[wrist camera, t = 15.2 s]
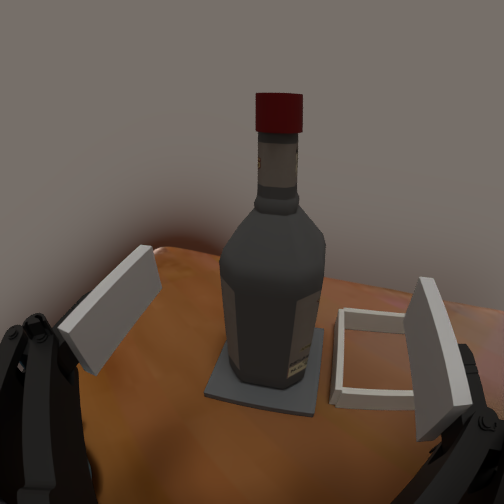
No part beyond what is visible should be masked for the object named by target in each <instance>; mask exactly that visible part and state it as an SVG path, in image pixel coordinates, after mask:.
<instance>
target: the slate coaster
mask: <svg viewBox="0 0 504 504" xmlns="http://www.w3.org/2000/svg"><path fill="white" fill-rule="evenodd" d="M323 335H324V329H322V328H314V333H313V338H312V343H311V347H310V352H309V357H308V361H307V366H306V370H305V374H304V378H302V379H300V380H298V381H297V382H295V383H293V384H291V385H290V386H288V387H286V388H284V389H281V388H275V387H269V386H264V385H259V384H253V383H248V382H244V381H242V380H240V378H239V377H238V376H237V374H236V373H235V371H234V370H233V368H232V367H231V366H230V363H229V355H228V346H227V340H226V342H225V345H224V347H223V349H222V351H221V354H220V356H219V358H218V361H217V363H216V365H215V368H214V370H213V372H212V374H211V377H210V379H209V381H208V384H207V386H206V388H205V390H204V395H205V397H209V398H213V399H217V400H221V401H225V402H229V403H233V404H238V405H242V406H247V407H252V408H257V409H262V410H267V411H273V412H279V413H285V414H292V415H299V416H307V417H313V416H314V412H315V405H316V398H317V391H318V383H319V374H320V366H321V356H322V346H323Z"/></svg>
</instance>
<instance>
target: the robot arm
mask: <svg viewBox="0 0 504 504" xmlns="http://www.w3.org/2000/svg"><path fill="white" fill-rule="evenodd" d="M161 289H162V286H161V282H160V278H159V274H158V270H157V266H156V262H155V257H154V253H153V248H152V246H145V245H140V246H139V247H138V248H136V249H135V250H134V251H133V252H132V253H131V254H130V255H129V256H128V257H127V258H126V259H125V260H124V261H122V262H121V263H120V264H119V265H118V266H117V267H116V268H115V269H114V270H113V271H112V272H111V273H110V274H109V275H108V276H107V277H106V278H105V279H104V280H103V281H102V282H101V283H100V284H99V285H98V286H97V287H96V288H95V289H94V290H91V291H90V292H88V293H86V294H85V295H83V296H82V297H81V298H80V299H79V300H78V301H77V303H76V304H74V305H73V306H72V307H71V309H69V311H68V312H67V313H66V314H65V315H64V316H63V317H62V318H61V319H60V320H59V321H58V322H57V323H56V324H55V326H54V327H53V328H51V326H50V325H49V323H48V321H47V320H46V317H45V316H44V315H43V314H41V313H36V314H33V315H31V316H30V317H28V318H27V319H26V320H25V321H24V323H23V325H22V326H21V325H14V326H12V327H10V328H9V329H8V330H7V332H6V333H5V335H4V337H3V339H2V342H1V343H0V504H98V502H97V499H96V495H95V492H94V488H93V483H92V479H91V474H90V470H89V465H88V459H87V454H86V448H85V441H84V434H83V427H82V418H81V407H80V394H79V372H78V368H77V367H76V366H77V364H78V363H80V364H81V366H82V367H83V369H84V370H85V371H87V372H89V373H91V374H93V375H95V376H97V374H98V373H99V371H100V370H101V369H102V367H103V366H104V364H105V363H106V362H107V360H108V359H109V357H110V356H111V355H112V353H113V352H114V351H115V349H116V348H117V347H118V345H119V344H120V343H121V341H122V340H123V338H124V337H125V336H126V334H127V333H128V332H129V331H130V329H131V328H132V327H133V325H134V324H135V323H136V321H137V320H138V319H139V317H140V316H141V315H142V313H143V312H144V311H145V310H146V308H147V307H148V306H149V304H150V303H151V302H152V301H153V299H154V298H155V297H156V296H157V294H158V293H159V292H160V290H161ZM403 325H404V331H405V336H406V342H407V348H408V354H409V361H410V368H411V376H412V384H413V394H414V405H415V419H416V441H417V442H421V441H432V440H435V439H436V438H437V437H438V436H439V435H440V434H441V437H442V442H440V443H439V444H438V445H437V446H435V447H434V448H433V449H432V450H431V451H430V452H429V453H430V454H431V453H432V452H433V451H434V452H433V453H432V454H431V456H430V457H429V458H428V460H427V461H426V462H425V464H424V465H423V466H422V468H421V469H420V470H419V471H418V473H417V474H416V475H415V476H414V478H413V479H412V480H411V481H410V482H409V484H408V485H407V486H406V487H405V488H404V489H403V490H402V492H401V493H400V494H399V495H398V496H397V497H396V498H395V499H394V500H393V501H392V502H391V503H390V504H504V420H500V419H499V418H498V416H497V414H496V413H495V411H494V410H493V409H491V408H489V407H487V405H486V401H485V397H484V393H483V388H482V384H481V381H480V377H479V375H478V370H477V366H475V365H476V363H475V359H474V356H473V353H472V352H471V350H470V349H469V348H468V346H467V345H466V344H457V341H456V338H455V335H454V332H453V329H452V326H451V323H450V320H449V317H448V314H447V311H446V309H445V306H444V303H443V301H442V298H441V296H440V293H439V291H438V289H437V286H436V283H435V281H434V279H433V278H426V277H419V279H418V282H417V285H416V288H415V290H414V293H413V296H412V299H411V301H410V304H409V306H408V309H407V312H406V314H405V317H404V319H403ZM18 363H20V364H21V365H22V366H23V368H24V369H23V371H22V372H21V371H20V370H19V369H18V367H17V366H18Z"/></svg>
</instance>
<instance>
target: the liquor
mask: <svg viewBox="0 0 504 504" xmlns="http://www.w3.org/2000/svg"><path fill="white" fill-rule="evenodd" d="M302 127H303V95H302V94H291V93H256V131H257V132H258V192H257V197H256V199H255V202H254V206H255V208H254V209H253V210H252V211H251V212H250V213H249V215H248V216H247V217H246V218H245V219H244V220H243V222H242V223H241V224H240V225H239V226H238V228H237V230H236V231H235V232H234V234H233V235H232V237H231V238H230V240H229V241H228V243H227V244H226V246H225V247H224V248H223V252H222V254H221V257H220V260H219V265H220V276H221V287H222V298H223V308H224V318H225V328H226V337H227V346H228V355H229V363H230V366H231V367H232V368H233V370H234V371H235V373H236V374H237V376H238V377H239V378H240V380H242V381H244V382H248V383H253V384H259V385H264V386H269V387H275V388H281V389H284V388H286V387H288V386H290V385H291V384H293V383H295V382H297V381H298V380H300V379H302V378H304V374H305V370H306V366H307V361H308V357H309V352H310V347H311V343H312V338H313V333H314V328H315V323H316V317H317V312H318V307H319V301H320V295H321V290H322V284H323V278H324V265H325V248H326V247H325V246H326V244H325V240H324V236H323V234H322V232H321V231H320V230H319V229H318V228H317V227H316V225H315V224H314V223H313V221H312V220H311V219H310V218H309V217H308V216H307V214H306V213H305V212H304V211H303V210H302V208H301V207H300V206H299V196H298V193H297V167H298V133H301V132H302Z"/></svg>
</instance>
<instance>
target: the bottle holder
mask: <svg viewBox="0 0 504 504" xmlns="http://www.w3.org/2000/svg"><path fill="white" fill-rule="evenodd" d="M404 317H405V314H404V313H393V312H382V311H372V310H362V309H353V308H344V309H339V310H338V314H337V318H336V322H335V328H334V348H333V363H332V376H331V388H330V398H329V404H334V405H335V407H336V408H349V409H367V410H415V405H414V394H413V390H375V389H358V388H345V387H342V384H343V362H344V329H352V330H362V331H373V332H385V333H398V334H405V331H404V325H403V319H404Z"/></svg>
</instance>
